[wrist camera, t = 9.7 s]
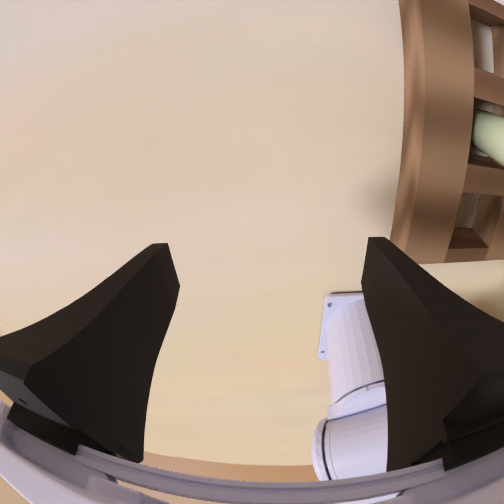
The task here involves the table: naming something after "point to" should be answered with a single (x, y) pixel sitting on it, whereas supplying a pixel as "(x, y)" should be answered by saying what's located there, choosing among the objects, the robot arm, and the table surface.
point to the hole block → (447, 134)
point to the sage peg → (488, 134)
